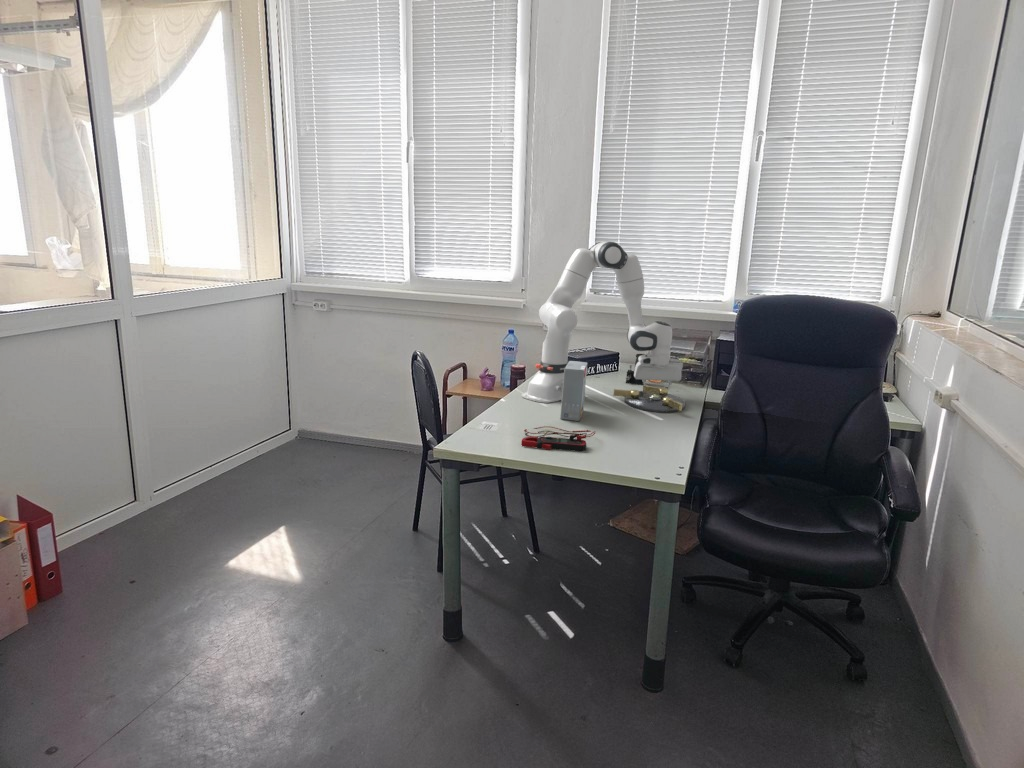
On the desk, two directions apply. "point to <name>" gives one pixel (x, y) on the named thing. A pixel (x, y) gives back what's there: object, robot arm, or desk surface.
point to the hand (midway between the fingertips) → (656, 389)
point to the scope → (630, 374)
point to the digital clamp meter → (557, 441)
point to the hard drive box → (573, 390)
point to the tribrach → (653, 402)
